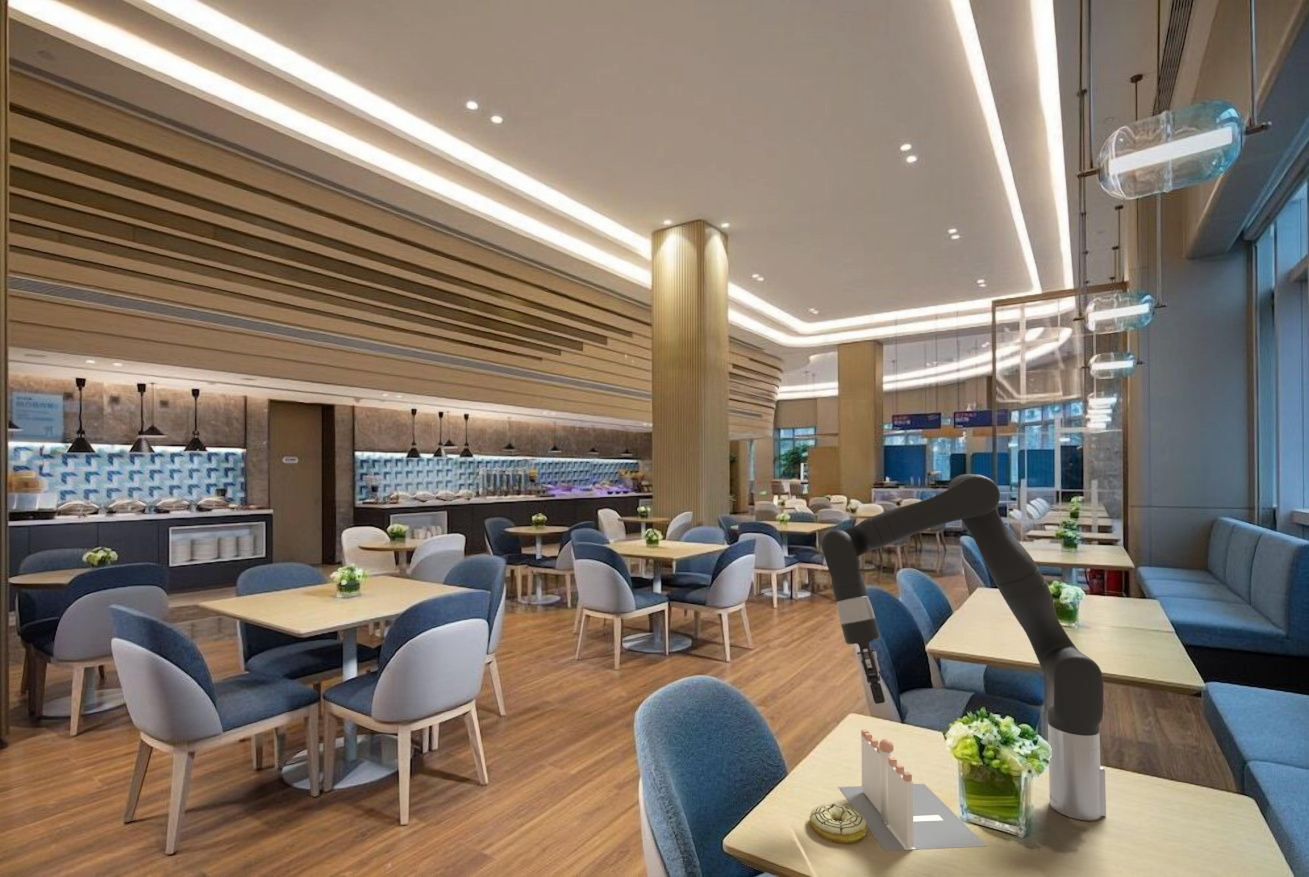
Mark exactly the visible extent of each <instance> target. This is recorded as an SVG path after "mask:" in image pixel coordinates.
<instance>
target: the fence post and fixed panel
mask: <svg viewBox="0 0 1309 877" xmlns="http://www.w3.org/2000/svg"><path fill="white" fill-rule="evenodd" d="M878 745H879V748H880V774H881V821H882V822H885V823H887V824H889V825H890V826H891V827H892V829H893V830H894V831H895V833H896V834H897V835H898V836H899V838H900V839H901V840H902V841H903V843H904V844H905V845H906V846H907V848H911V847H914V833H913V784H914V782H913V775H912V773H910V772H909V771H905V766H904V765H903V764H901V763H900V764H898V760H897V758H895V757H894V748H895V747H894V743H893V742H892V741H891V740H890V739H888V738H883V739H881V740H880V742H878Z"/></svg>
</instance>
